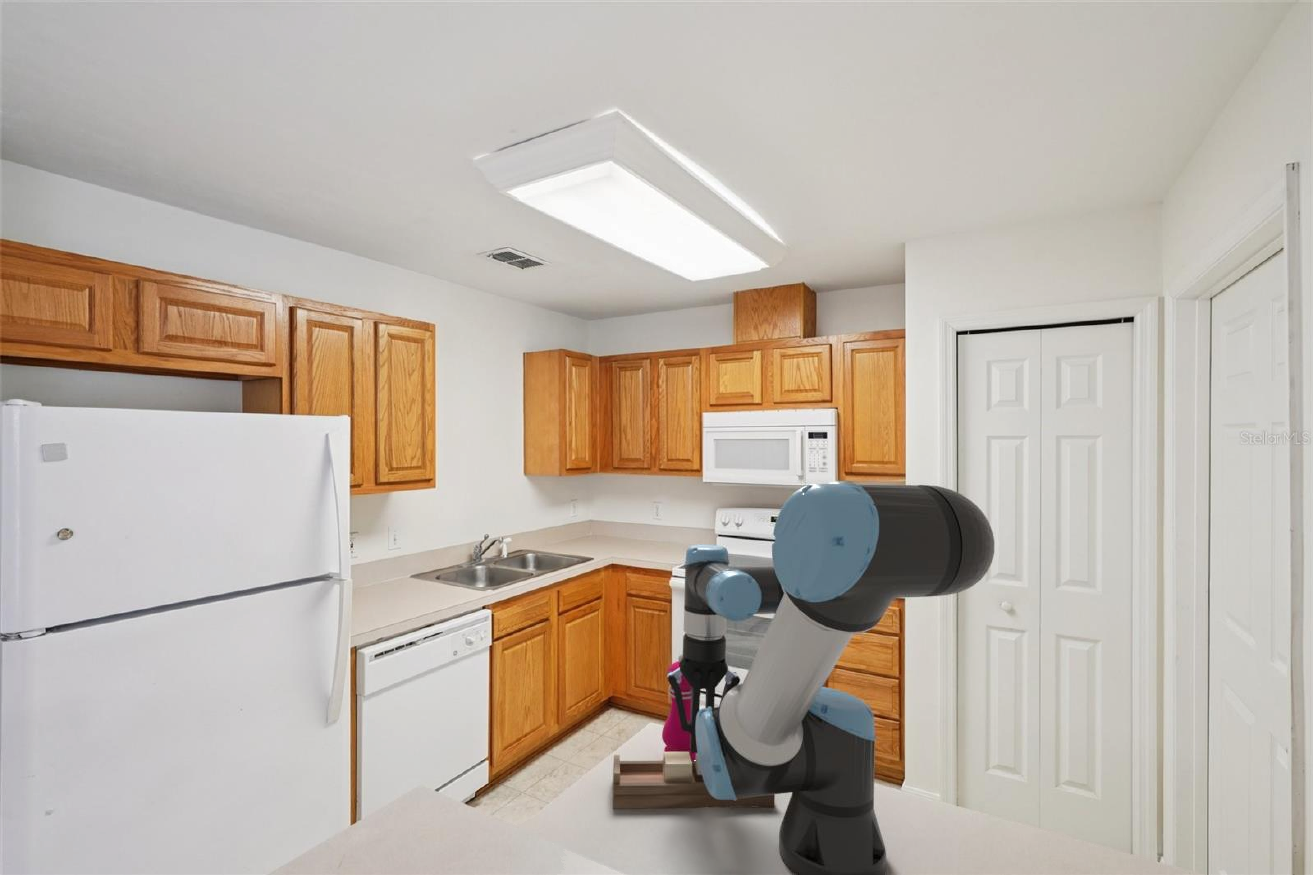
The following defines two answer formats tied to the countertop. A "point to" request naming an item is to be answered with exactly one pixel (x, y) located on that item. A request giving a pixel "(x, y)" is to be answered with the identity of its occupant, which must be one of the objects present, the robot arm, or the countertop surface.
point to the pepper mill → (672, 728)
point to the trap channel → (667, 789)
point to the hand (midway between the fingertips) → (700, 770)
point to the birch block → (677, 767)
